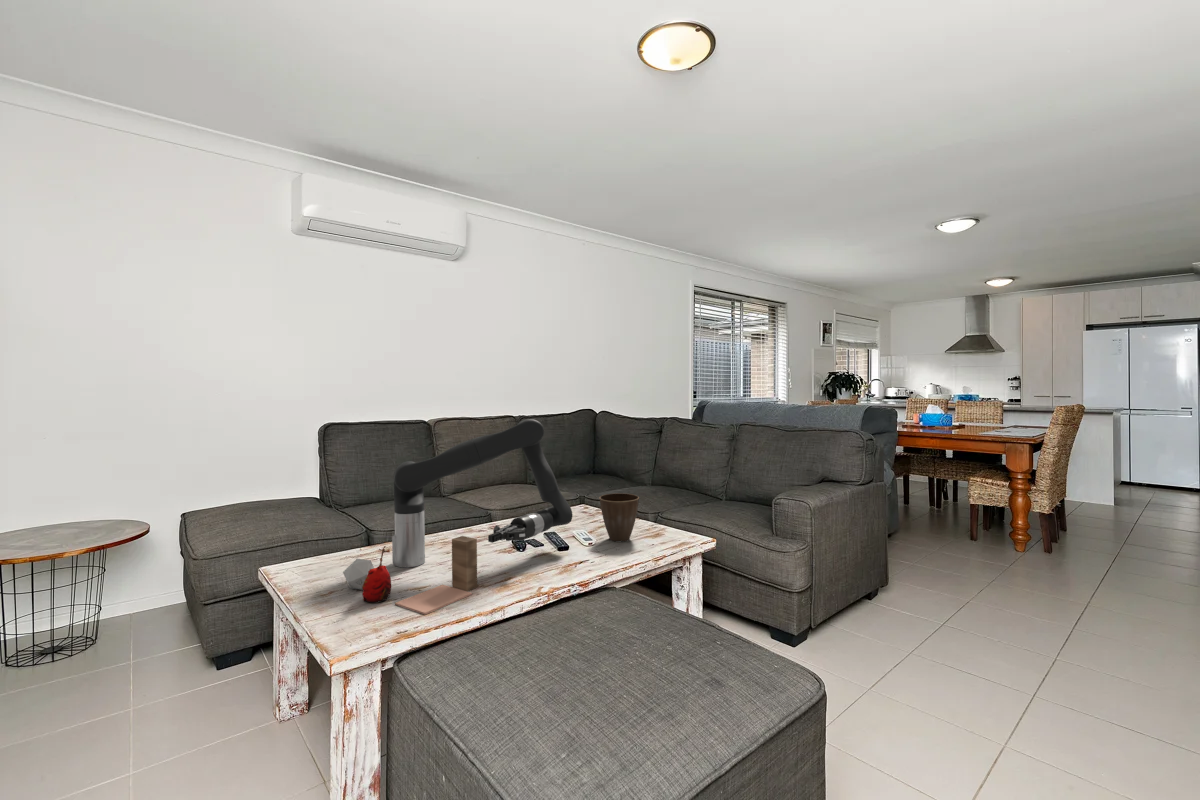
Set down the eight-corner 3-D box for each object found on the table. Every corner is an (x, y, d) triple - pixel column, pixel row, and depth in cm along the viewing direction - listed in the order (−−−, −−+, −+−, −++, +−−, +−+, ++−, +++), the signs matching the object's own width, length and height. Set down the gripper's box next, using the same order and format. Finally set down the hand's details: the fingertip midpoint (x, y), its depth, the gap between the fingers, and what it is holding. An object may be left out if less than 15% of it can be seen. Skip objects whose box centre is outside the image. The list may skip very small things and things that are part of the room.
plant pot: (626, 547, 197) (626, 502, 197) (591, 541, 206) (591, 498, 205) (646, 537, 210) (646, 495, 210) (612, 532, 218) (612, 491, 218)
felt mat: (442, 586, 160) (442, 584, 160) (471, 594, 153) (471, 592, 153) (395, 604, 146) (395, 602, 146) (425, 614, 140) (425, 612, 140)
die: (347, 597, 153) (369, 569, 154) (331, 577, 157) (352, 549, 158) (367, 598, 160) (388, 570, 161) (351, 578, 164) (372, 552, 165)
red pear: (380, 592, 155) (379, 539, 154) (397, 597, 152) (397, 543, 151) (356, 602, 148) (356, 546, 148) (375, 607, 145) (374, 550, 144)
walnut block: (462, 583, 162) (462, 535, 162) (477, 587, 159) (476, 538, 159) (452, 587, 159) (451, 539, 158) (466, 591, 156) (466, 542, 155)
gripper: (512, 512, 185) (474, 524, 171) (542, 517, 178) (505, 529, 163) (512, 534, 185) (474, 548, 171) (543, 540, 178) (506, 554, 164)
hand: (490, 539), depth 167 cm, fingers closed
